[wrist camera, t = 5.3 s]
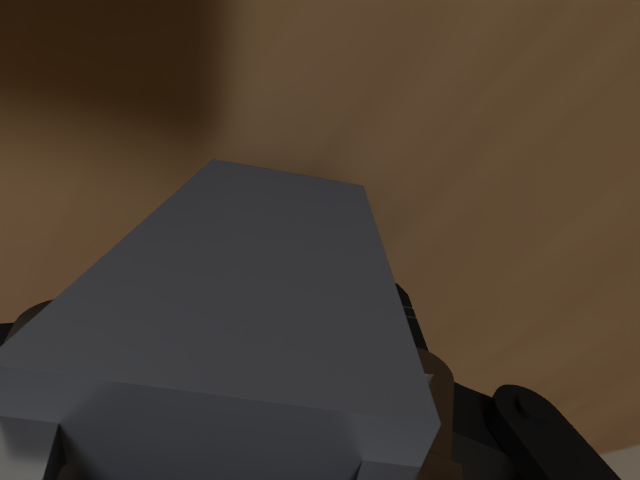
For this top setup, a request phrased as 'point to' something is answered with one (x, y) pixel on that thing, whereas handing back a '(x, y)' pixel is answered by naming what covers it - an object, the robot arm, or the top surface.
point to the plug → (230, 342)
